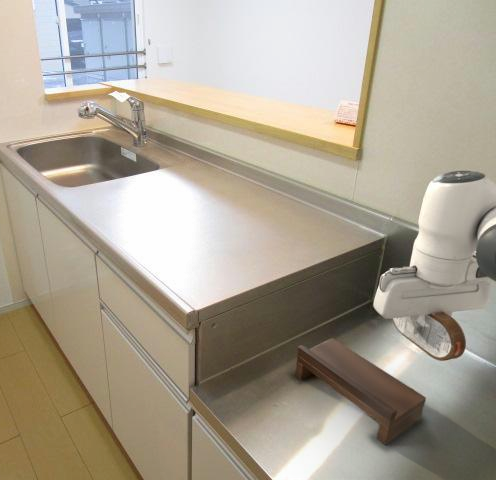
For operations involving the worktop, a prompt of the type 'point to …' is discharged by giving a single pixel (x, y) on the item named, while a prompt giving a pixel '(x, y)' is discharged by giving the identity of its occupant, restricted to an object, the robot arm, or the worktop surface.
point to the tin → (435, 335)
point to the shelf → (363, 386)
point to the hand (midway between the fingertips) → (424, 330)
